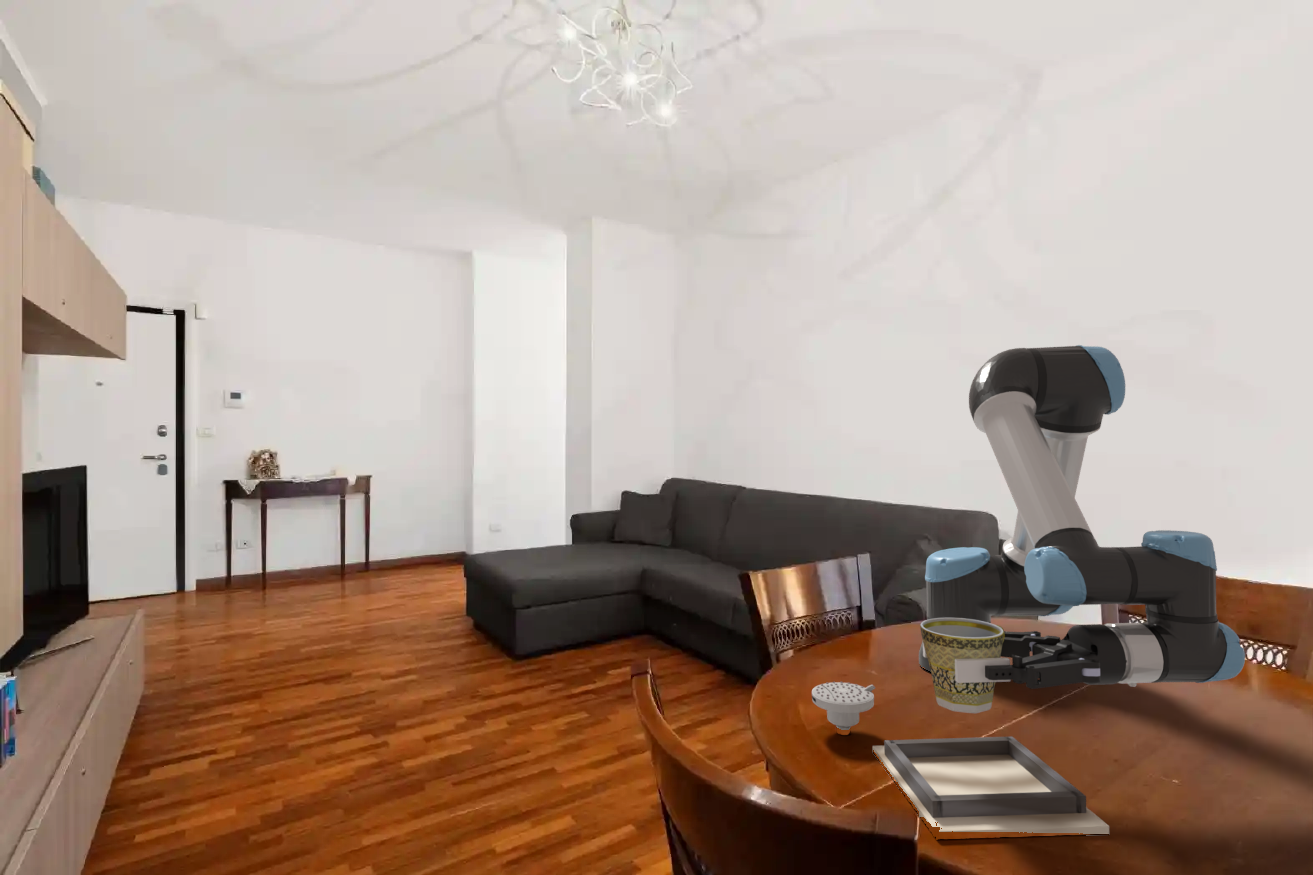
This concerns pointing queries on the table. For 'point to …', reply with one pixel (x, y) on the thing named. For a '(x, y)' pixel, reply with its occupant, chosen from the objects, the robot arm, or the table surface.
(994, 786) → the square frame board
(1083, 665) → the robot arm
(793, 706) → the table surface
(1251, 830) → the table surface
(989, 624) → the ceramic cup
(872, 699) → the showerhead
